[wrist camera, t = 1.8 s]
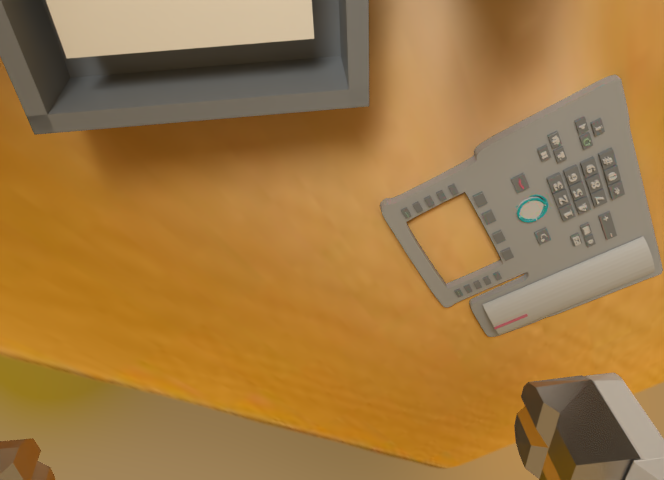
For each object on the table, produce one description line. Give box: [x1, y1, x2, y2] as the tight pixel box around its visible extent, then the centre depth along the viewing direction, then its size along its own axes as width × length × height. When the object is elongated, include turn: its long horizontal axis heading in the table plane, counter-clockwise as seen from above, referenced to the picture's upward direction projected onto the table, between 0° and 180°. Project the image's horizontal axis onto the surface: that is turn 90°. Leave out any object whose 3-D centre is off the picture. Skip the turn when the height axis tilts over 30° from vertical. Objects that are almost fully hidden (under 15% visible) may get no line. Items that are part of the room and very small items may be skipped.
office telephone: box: [380, 75, 663, 337], centre depth 50 cm, size 23×3×20 cm
